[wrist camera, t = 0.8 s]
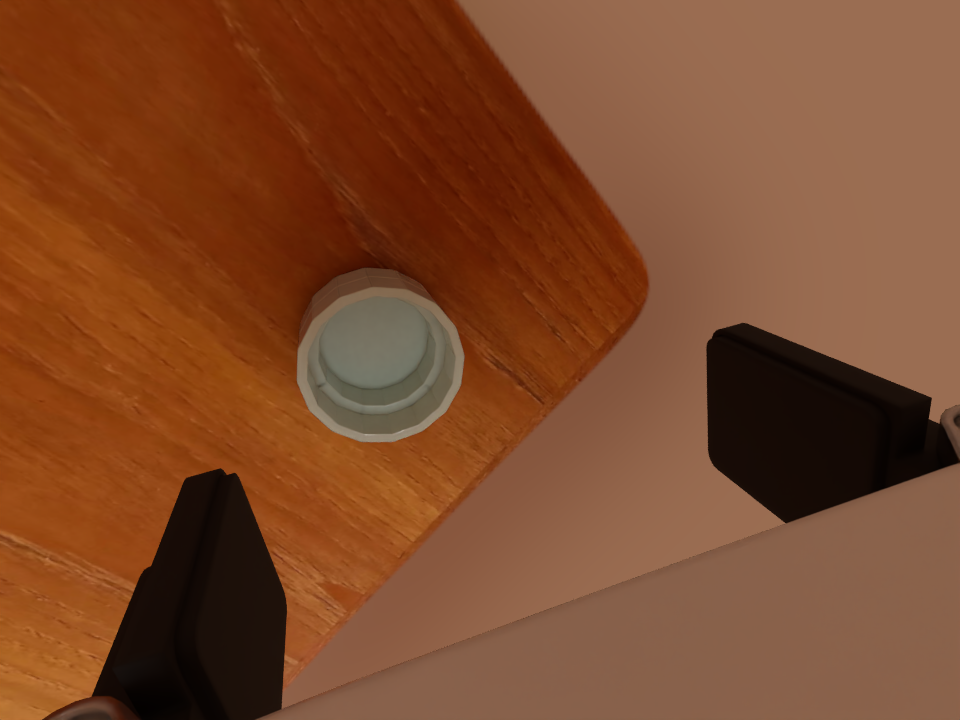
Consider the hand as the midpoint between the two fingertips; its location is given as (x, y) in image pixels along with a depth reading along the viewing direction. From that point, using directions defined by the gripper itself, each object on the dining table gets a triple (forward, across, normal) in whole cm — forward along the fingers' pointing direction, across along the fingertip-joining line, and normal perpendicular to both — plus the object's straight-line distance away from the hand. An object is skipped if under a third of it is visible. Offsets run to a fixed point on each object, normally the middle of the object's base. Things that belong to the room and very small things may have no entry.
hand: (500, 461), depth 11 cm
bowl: (+18, +1, +3) cm, 18 cm away
